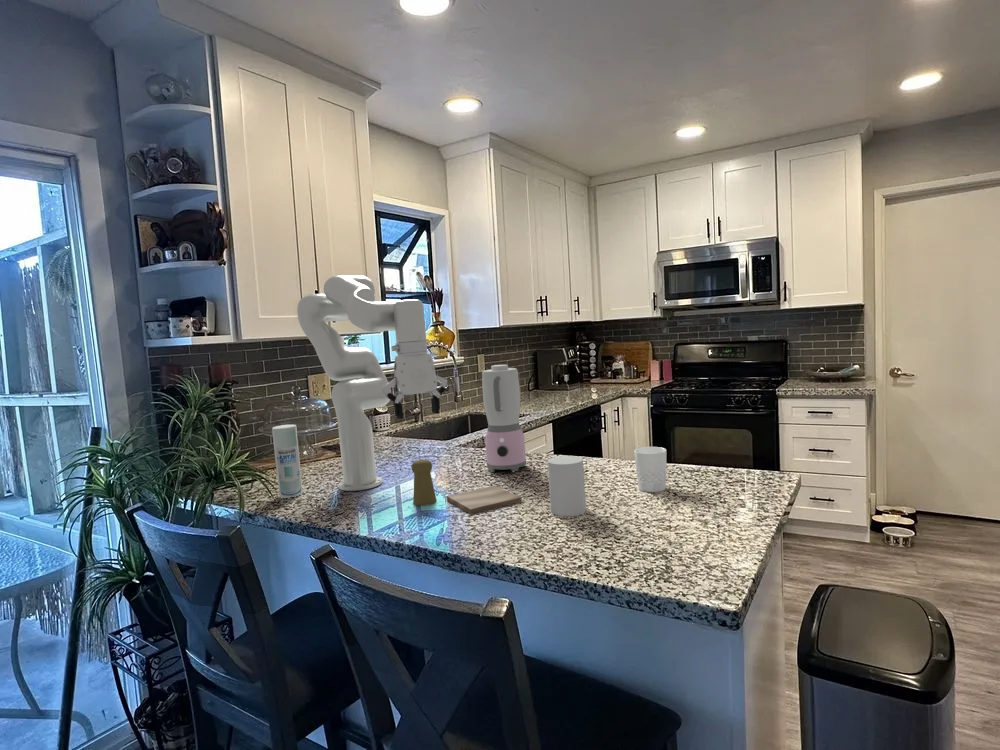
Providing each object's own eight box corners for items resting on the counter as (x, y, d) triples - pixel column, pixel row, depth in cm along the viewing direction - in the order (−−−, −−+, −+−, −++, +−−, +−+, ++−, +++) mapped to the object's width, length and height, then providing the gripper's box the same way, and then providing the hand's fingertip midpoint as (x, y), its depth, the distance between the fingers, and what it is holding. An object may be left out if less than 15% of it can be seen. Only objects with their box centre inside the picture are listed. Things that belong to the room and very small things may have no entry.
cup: (588, 505, 136) (585, 455, 135) (582, 517, 128) (579, 464, 127) (555, 504, 139) (552, 455, 138) (547, 515, 131) (543, 464, 130)
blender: (491, 464, 185) (483, 365, 182) (528, 462, 183) (521, 362, 180) (481, 477, 169) (473, 369, 167) (522, 476, 167) (514, 366, 165)
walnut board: (447, 500, 148) (446, 496, 148) (494, 489, 155) (494, 485, 155) (470, 514, 136) (470, 509, 136) (521, 501, 143) (521, 497, 143)
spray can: (302, 490, 169) (295, 423, 167) (304, 496, 163) (297, 426, 161) (278, 494, 166) (271, 426, 164) (279, 500, 160) (272, 429, 158)
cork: (438, 497, 151) (435, 456, 150) (433, 505, 145) (430, 462, 144) (416, 498, 152) (412, 458, 151) (410, 506, 146) (406, 463, 145)
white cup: (633, 492, 144) (631, 453, 143) (638, 483, 151) (636, 446, 150) (666, 493, 141) (664, 453, 140) (669, 484, 148) (667, 446, 147)
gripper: (383, 351, 138) (389, 422, 139) (449, 345, 146) (455, 412, 147) (374, 351, 145) (380, 419, 146) (438, 346, 153) (443, 410, 154)
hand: (418, 415), depth 147 cm, fingers open, 9 cm apart
